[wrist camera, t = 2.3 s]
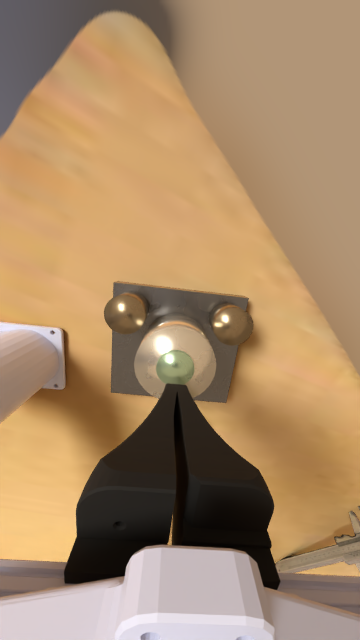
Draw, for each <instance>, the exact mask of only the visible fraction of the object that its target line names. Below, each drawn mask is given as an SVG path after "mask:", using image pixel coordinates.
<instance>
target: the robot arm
mask: <svg viewBox="0 0 360 640" xmlns="http://www.w3.org/2000/svg"><path fill="white" fill-rule="evenodd" d="M52 330H53V331H54V332H55V333H53V332H52ZM56 384H57V385H58V386H57V385H56ZM65 386H66V379H65V358H64V338H63V330H62V329H61V328H55V327H46V326H36V325H27V324H17V323H8V322H0V424H1V423H2V422H3V421H4V420H5V419H6V418H7V417H9V416H10V415H11V414H12V413H13V412H14V411H15V410H17V409H18V408H19V407H20V406H21V405H22V404H23V403H25V402H26V401H27V400H28V399H29V398H30V397H31V396H33V395H34V394H35V393H36V392H37V391H38V390H39V389H41V388H47V389H58V390H62V389H64V388H65ZM273 510H274V502H273V499H272V496H271V494H270V491H269V489H268V487H267V485H266V483H265V481H264V479H263V477H262V475H261V473H260V471H259V470H258V469H257V468H256V467H254V466H253V465H252V464H250V463H249V462H248V461H246V460H245V459H244V458H243V457H241V456H240V455H239V454H238V453H237V452H235V451H234V450H233V449H232V448H231V447H230V446H229V445H228V444H227V443H226V442H225V441H224V440H223V439H222V438H221V437H220V436H219V435H218V434H217V433H216V432H215V431H214V429H213V428H212V427H211V426H210V425H209V423H208V422H207V421H206V419H205V418H204V416H203V415H202V413H201V412H200V410H199V409H198V407H197V405H196V404H195V402H194V400H193V398H192V396H191V394H190V392H189V390H188V387H187V386H186V385H181V384H170V383H167V384H166V385H165V388H164V391H163V393H162V395H161V397H160V399H159V400H158V402H157V404H156V405H155V407H154V408H153V410H152V411H151V413H150V414H149V415H148V417H147V418H146V419H145V420H144V422H143V423H142V424H141V425H140V426H139V427H138V428H137V429H136V430H135V431H134V432H133V433H132V434H131V435H130V436H129V437H128V438H127V439H126V440H125V441H124V442H122V443H121V444H120V445H119V446H118V447H117V448H115V449H114V450H113V451H111V452H110V453H109V454H107V455H106V456H104V457H103V458H102V459H101V460H100V461H99V463H98V464H97V466H96V467H95V469H94V471H93V472H92V474H91V476H90V477H89V479H88V481H87V483H86V485H85V487H84V490H83V492H82V494H81V497H80V499H79V501H78V504H77V508H76V526H77V537H76V540H75V543H74V545H73V548H72V551H71V553H70V556H69V559H68V561H67V562H49V561H29V560H8V559H0V640H360V577H356V576H336V575H315V574H295V573H278V572H277V569H276V566H275V563H274V560H273V557H272V554H271V551H270V548H271V540H270V538H269V535H268V532H267V528H268V525H269V523H270V520H271V517H272V514H273ZM172 515H173V527H172V545H167V543H168V541H169V534H170V528H171V521H172Z"/></svg>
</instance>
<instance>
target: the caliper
mask: <svg viewBox="0 0 360 640" xmlns="http://www.w3.org/2000/svg"><path fill="white" fill-rule="evenodd" d="M358 508H359V509H360V506H359V507H358ZM349 515H350V519H351V522H352V526H353V529H354V533H355V536H353V537H351V536H349V535H342V536H341V537H334V539H335V541H336V545H333V546H329V547H326V548H322V549H318V550H315V551H311V552H307V553H304V554H300V555H296V556H292V557H288V558H284V559H281V560H280V561H278V562H277V563H276V569H277V572H278V573H295V572H300V571H304V570H309V569H313V568H317V567H321V566H326V565H330V564H334V563H339V562H343V561H344V562H345V563H347V564H348V565H351V564H356V563H360V521H359V519H358V518H357V516H356V514H355V513H354V512H353V511H350V512H349Z"/></svg>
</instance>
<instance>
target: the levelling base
mask: <svg viewBox="0 0 360 640" xmlns="http://www.w3.org/2000/svg"><path fill="white" fill-rule="evenodd" d="M248 299H249V298H247V297H245V296H238V295H230V294H221V293H213V292H204V291H196V290H187V289H179V288H170V287H162V286H153V285H145V284H136V283H128V282H119V281H118V282H114V287H113V298H112V299H111V300H110V301H109V302H108V303H107V305H106V307H105V310H104V317H105V320H106V323H107V324H108V326H109V327H110V328H111V329H112V368H111V393H122V394H134V395H145V396H154V397H156V398H158V399H160V397H161V395H162V393H163V391H164V388H165V385H166V384H167V383H170V384H181V385H186V386H187V387H188V390H189V392H190V394H191V396H192V398H193V400H200V401H211V402H222V403H226V401H227V396H228V392H229V387H230V382H231V378H232V373H233V368H234V364H235V359H236V354H237V350H238V345H239V344H241V343H243V342H245V341H246V340H247V339H248V338H249V337H250V335H251V333H252V330H253V320H252V318H251V316H250V315H249V314H248V313H247V312H246V308H247V303H248Z"/></svg>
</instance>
